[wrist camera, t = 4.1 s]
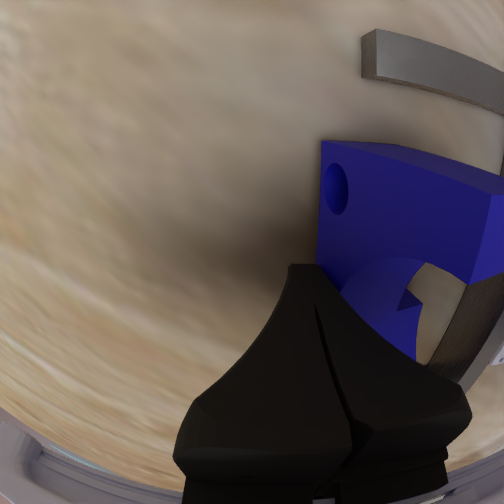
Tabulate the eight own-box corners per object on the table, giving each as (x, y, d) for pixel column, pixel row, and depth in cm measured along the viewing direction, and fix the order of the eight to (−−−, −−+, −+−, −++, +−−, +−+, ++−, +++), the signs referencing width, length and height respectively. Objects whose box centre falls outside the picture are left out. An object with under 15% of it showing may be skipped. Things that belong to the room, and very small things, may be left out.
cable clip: (374, 374, 14) (427, 455, 9) (300, 397, 14) (343, 495, 8) (424, 147, 9) (562, 197, 4) (321, 140, 8) (491, 195, 3)
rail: (529, 95, 7) (575, 107, 4) (436, 377, 15) (449, 412, 13) (361, 36, 7) (395, 18, 5) (315, 389, 16) (318, 432, 13)
